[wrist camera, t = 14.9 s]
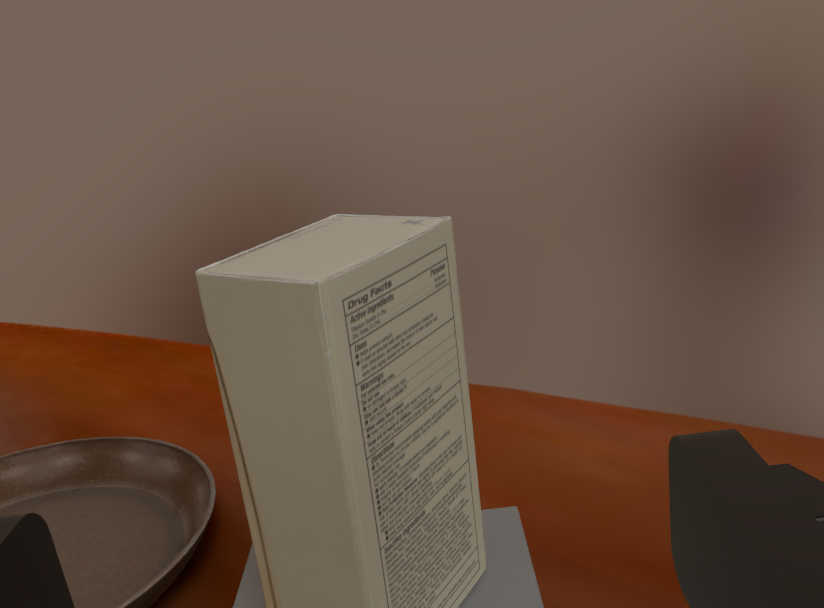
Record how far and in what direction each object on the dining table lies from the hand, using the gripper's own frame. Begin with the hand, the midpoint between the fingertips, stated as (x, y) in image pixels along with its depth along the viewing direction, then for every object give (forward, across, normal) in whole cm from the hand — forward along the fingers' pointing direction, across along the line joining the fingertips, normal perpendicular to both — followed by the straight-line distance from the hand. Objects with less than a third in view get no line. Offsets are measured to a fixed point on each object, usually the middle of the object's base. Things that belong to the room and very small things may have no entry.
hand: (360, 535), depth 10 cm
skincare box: (+12, +1, +11) cm, 16 cm away
